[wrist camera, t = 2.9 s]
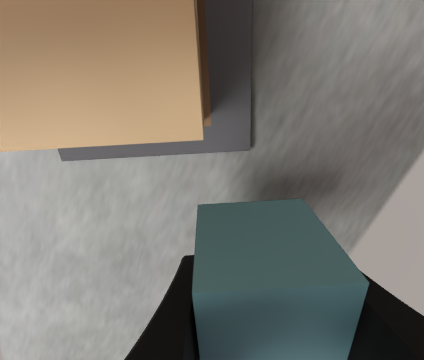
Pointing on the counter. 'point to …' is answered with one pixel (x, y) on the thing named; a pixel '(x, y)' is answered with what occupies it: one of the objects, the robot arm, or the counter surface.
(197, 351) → the robot arm
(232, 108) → the coaster mat
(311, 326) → the teal block
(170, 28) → the oak top block
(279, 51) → the counter surface
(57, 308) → the counter surface
